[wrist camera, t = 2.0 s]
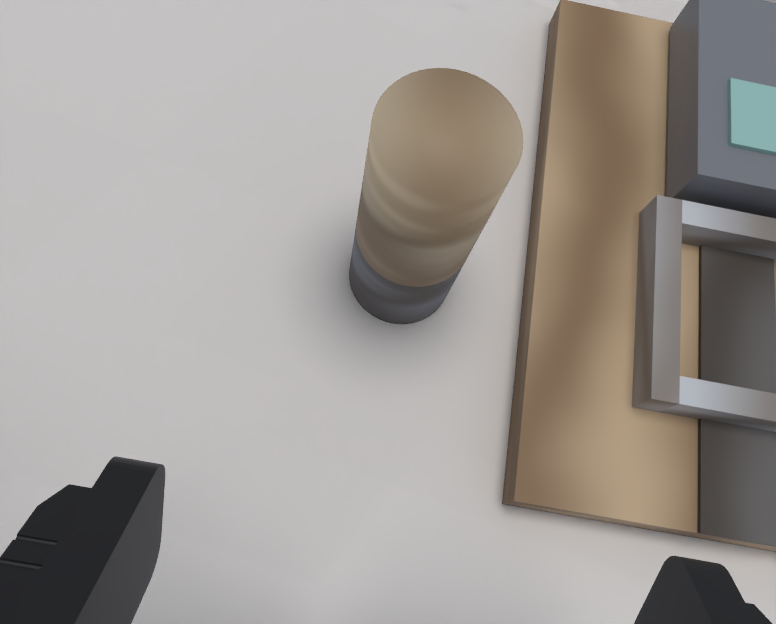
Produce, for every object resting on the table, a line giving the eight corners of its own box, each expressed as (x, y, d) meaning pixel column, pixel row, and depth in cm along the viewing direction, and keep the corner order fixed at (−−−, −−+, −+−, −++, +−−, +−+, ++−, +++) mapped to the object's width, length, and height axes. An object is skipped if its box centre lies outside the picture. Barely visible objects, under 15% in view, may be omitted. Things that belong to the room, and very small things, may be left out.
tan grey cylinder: (340, 313, 26) (359, 184, 17) (358, 221, 28) (384, 54, 18) (442, 332, 27) (515, 214, 17) (455, 240, 28) (529, 84, 19)
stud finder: (666, 204, 28) (700, 170, 25) (670, 27, 31) (701, -18, 28) (807, 232, 28) (855, 202, 26) (798, 54, 31) (839, 12, 29)
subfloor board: (502, 503, 25) (527, 498, 22) (549, 23, 32) (572, -28, 29) (920, 576, 26) (996, 580, 23) (873, 91, 33) (925, 49, 30)
